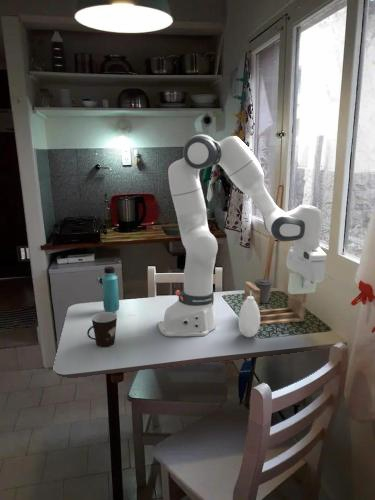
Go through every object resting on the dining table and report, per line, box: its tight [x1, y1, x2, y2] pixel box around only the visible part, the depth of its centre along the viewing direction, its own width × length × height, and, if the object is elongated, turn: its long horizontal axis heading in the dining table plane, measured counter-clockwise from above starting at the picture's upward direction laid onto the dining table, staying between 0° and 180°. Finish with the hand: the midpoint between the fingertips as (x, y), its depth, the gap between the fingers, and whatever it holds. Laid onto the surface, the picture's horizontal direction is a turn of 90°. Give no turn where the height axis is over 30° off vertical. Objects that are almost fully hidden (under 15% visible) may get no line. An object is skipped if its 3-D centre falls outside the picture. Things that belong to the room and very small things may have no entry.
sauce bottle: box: [238, 292, 261, 338], centre depth 139 cm, size 8×8×18 cm
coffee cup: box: [254, 278, 273, 304], centre depth 173 cm, size 8×8×10 cm
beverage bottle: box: [101, 266, 120, 313], centre depth 158 cm, size 6×7×20 cm
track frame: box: [243, 281, 307, 326], centre depth 154 cm, size 22×10×15 cm, turn 104°
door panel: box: [287, 273, 317, 294], centre depth 140 cm, size 10×3×7 cm, turn 104°
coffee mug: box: [86, 311, 118, 349], centre depth 132 cm, size 12×9×10 cm
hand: (301, 286), depth 140 cm, fingers closed on door panel, 2 cm apart
